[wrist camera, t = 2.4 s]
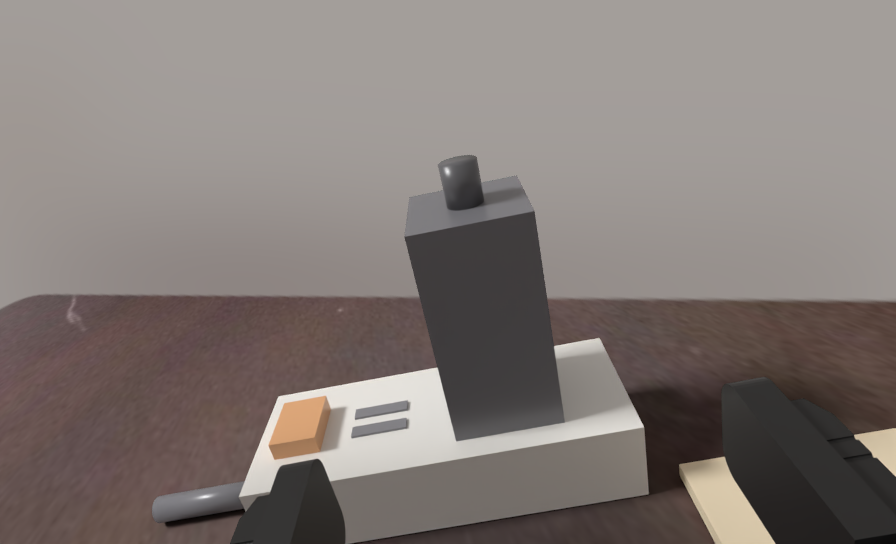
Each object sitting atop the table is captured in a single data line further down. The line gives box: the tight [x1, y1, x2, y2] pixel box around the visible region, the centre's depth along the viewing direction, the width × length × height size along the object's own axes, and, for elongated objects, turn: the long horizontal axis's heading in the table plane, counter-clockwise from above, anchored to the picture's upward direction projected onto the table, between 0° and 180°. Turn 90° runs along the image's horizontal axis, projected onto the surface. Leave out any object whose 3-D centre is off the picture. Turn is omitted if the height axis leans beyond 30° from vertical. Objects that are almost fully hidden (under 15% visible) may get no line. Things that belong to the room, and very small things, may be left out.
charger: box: [405, 155, 565, 441], centre depth 23 cm, size 4×4×13 cm
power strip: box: [152, 338, 649, 544], centre depth 26 cm, size 22×6×4 cm, turn 91°
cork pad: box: [679, 428, 896, 544], centre depth 20 cm, size 9×7×1 cm
